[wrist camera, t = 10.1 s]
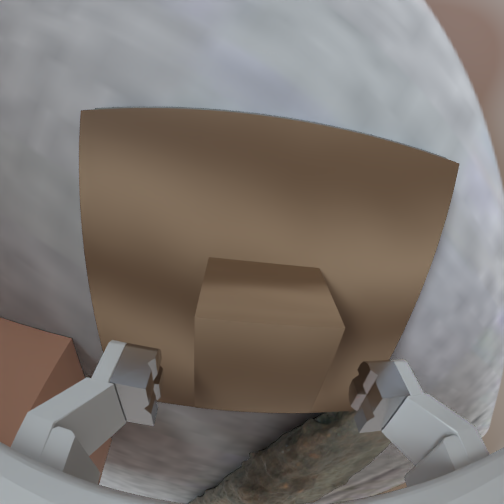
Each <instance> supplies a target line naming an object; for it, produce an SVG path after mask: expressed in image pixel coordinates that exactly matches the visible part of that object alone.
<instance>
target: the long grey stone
mask: <svg viewBox="0 0 504 504" xmlns="http://www.w3.org/2000/svg"><path fill="white" fill-rule="evenodd" d="M356 412H357V411H356V410H353V411H339V412H326V413H323V414H322V415H320V416H318V417H317V418H315V419H308V420H307V421H306V422H305V423H304V424H303V425H302V426H299V427H297V428H295V429H294V430H292V431H291V432H289V433H285V434H283V435H282V436H281V438H279V439H278V440H277V441H276V442H275V443H272V444H271V445H270V447H268V448H267V449H265V450H262V451H258V452H252V453H249V455H250V458H249V459H248V460H246V461H243V462H242V467H240V468H239V469H237V470H236V471H234V472H232V473H231V474H230V475H228V476H227V477H225V478H224V480H223V481H222V482H221V483H220V484H219V486H217V487H216V488H213V489H207V490H206V491H205V493H204V495H203V496H201V497H199V496H197V497H196V499H195V500H193V501H191V502H189V503H188V504H306V503H311V502H315V501H317V500H319V499H320V498H321V497H323V496H324V495H326V494H328V493H329V492H331V491H333V490H334V489H336V488H338V487H340V486H342V485H345V484H346V483H347V482H348V480H349V478H350V477H352V476H353V475H354V474H356V473H357V472H359V471H361V470H362V469H363V468H364V467H366V466H367V465H368V464H369V463H371V462H372V461H373V459H375V457H377V456H378V455H379V454H380V453H381V452H382V451H383V450H384V449H386V448H387V446H388V445H389V444H390V443H391V441H390V440H389V439H388V438H387V437H386V436H385V435H384V434H383V433H382V431H374V432H364V433H359V432H358V429H357V425H356V422H355V419H354V416H355V414H356Z"/></svg>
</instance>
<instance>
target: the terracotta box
mask: <svg viewBox="0 0 504 504" xmlns="http://www.w3.org/2000/svg"><path fill="white" fill-rule="evenodd" d="M83 379H85V376H84V374H83V371H82V368H81V365H80V362H79V359H78V356H77V353H76V350H75V347H74V344H73V340H72V338H68V337H64V336H61V335H57V334H53V333H49V332H46V331H42V330H39V329H35V328H32V327H29V326H25V325H22V324H19V323H16V322H13V321H10V320H7V319H4V318H1V317H0V442H2V443H3V444H5V445H7V446H9V447H11V445H12V443H13V441H14V439H15V436H16V434H17V432H18V430H19V428H20V426H21V424H22V422H23V420H24V418H25V416H26V414H27V412H29V411H31V410H32V409H34V408H36V407H37V406H39V405H41V404H43V403H44V402H46V401H48V400H49V399H51V398H53V397H54V396H56V395H58V394H60V393H61V392H63V391H65V390H66V389H68V388H70V387H71V386H73V385H75V384H76V383H78V382H80V381H81V380H83ZM111 441H112V439H111V437H110V438H109V439H108V440H107V441H106V442H105V443H103V444H102V445H101V446H100V447H99V448H98V449H97V450H95V451H94V452H93V453H92V454H91V455H90V456H89V457H90V459H91V460H92V461H93V463H94V464H95V465H96V467H97V468H98V470H99V471H100V477H99V481H98V484H99V483H100V479H101V475H102V472H103V468H104V465H105V461H106V458H107V454H108V451H109V447H110V444H111Z"/></svg>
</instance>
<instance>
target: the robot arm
mask: <svg viewBox="0 0 504 504" xmlns="http://www.w3.org/2000/svg"><path fill="white" fill-rule="evenodd" d="M161 360H162V355H161V350H160V349H157V348H152V347H146V346H141V345H136V344H131V343H125V342H120V341H115V340H111V341H110V342H109V343H108V345H107V347H106V349H105V351H104V353H103V355H102V357H101V359H100V361H99V363H98V365H97V367H96V369H95V371H94V374H93V376H92V378H88V377H86V378H85V379H83V380H81V381H80V382H78V383H76V384H75V385H73V386H71V387H70V388H68V389H66V390H65V391H63V392H61V393H60V394H58V395H56V396H54V397H53V398H51V399H49V400H48V401H46V402H44V403H43V404H41V405H39V406H37V407H36V408H34V409H32V410H31V411H29V412H27V414H26V416H25V418H24V420H23V422H22V424H21V426H20V428H19V430H18V432H17V434H16V436H15V439H14V441H13V443H12V445H11V447H9V446H7V445H5V444H3V443H2V442H0V504H184V503H177V502H171V501H165V500H159V499H154V498H149V497H144V496H140V495H135V494H131V493H127V492H123V491H119V490H116V489H112V488H108V487H105V486H102V485H99V484H98V481H99V477H100V471H99V470H98V468H97V467H96V465H95V464H94V463H93V461H92V460H91V459H90V457H89V456H90V455H91V454H92V453H93V452H94V451H95V450H97V449H98V448H99V447H100V446H101V445H102V444H103V443H105V442H106V441H107V440H108V439H109V438H110V437H111V436H112V435H113V434H115V433H116V432H117V431H118V430H119V429H120V428H121V427H122V426H123V425H125V424H126V421H127V422H133V423H138V424H144V425H149V426H154V423H155V419H156V415H157V411H158V406H157V400H158V399H159V398H160V397H161V394H162V389H163V381H164V374H163V368H162V367H161V366H160V363H161ZM357 370H358V373H359V375H358V376H356V377H355V378H354V379H352V382H351V384H350V386H349V393H348V395H349V402H350V406H351V407H352V408H353V409H355V410H356V411H357V412H356V414H355V416H354V419H355V422H356V425H357V429H358V432H359V433H364V432H374V431H382V433H383V434H384V435H385V436H386V437H387V438H388V439H389V440H390V441H391V442H392V443H393V444H394V445H395V446H396V447H397V448H398V449H399V450H400V451H401V452H402V453H403V454H404V455H405V456H406V457H407V458H408V459H409V460H410V461H411V462H412V463H413V464H414V465H415V467H414V468H413V469H411V470H410V471H409V472H408V473H407V474H406V475H405V477H404V478H405V481H406V485H407V487H406V488H403V489H399V490H396V491H392V492H388V493H384V494H380V495H375V496H371V497H366V498H361V499H356V500H350V501H344V502H338V503H331V504H504V448H502V449H500V450H498V451H496V452H494V453H492V454H489V452H488V451H487V448H486V446H485V444H484V442H483V440H482V438H481V436H480V434H479V432H478V430H477V428H476V427H475V426H474V425H473V424H471V423H470V422H468V421H467V420H465V419H464V418H462V417H461V416H459V415H458V414H457V413H455V412H454V411H452V410H451V409H449V408H448V407H446V406H445V405H444V404H442V403H441V402H439V401H438V400H436V399H435V398H434V397H432V396H431V395H429V394H428V393H426V394H424V393H423V391H422V389H421V387H420V385H419V383H418V381H417V379H416V377H415V376H414V374H413V372H412V370H411V368H410V366H409V365H408V363H407V361H406V360H404V359H396V360H380V361H363V362H362V363H361V364H360V365H359V367H358V369H357Z"/></svg>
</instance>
